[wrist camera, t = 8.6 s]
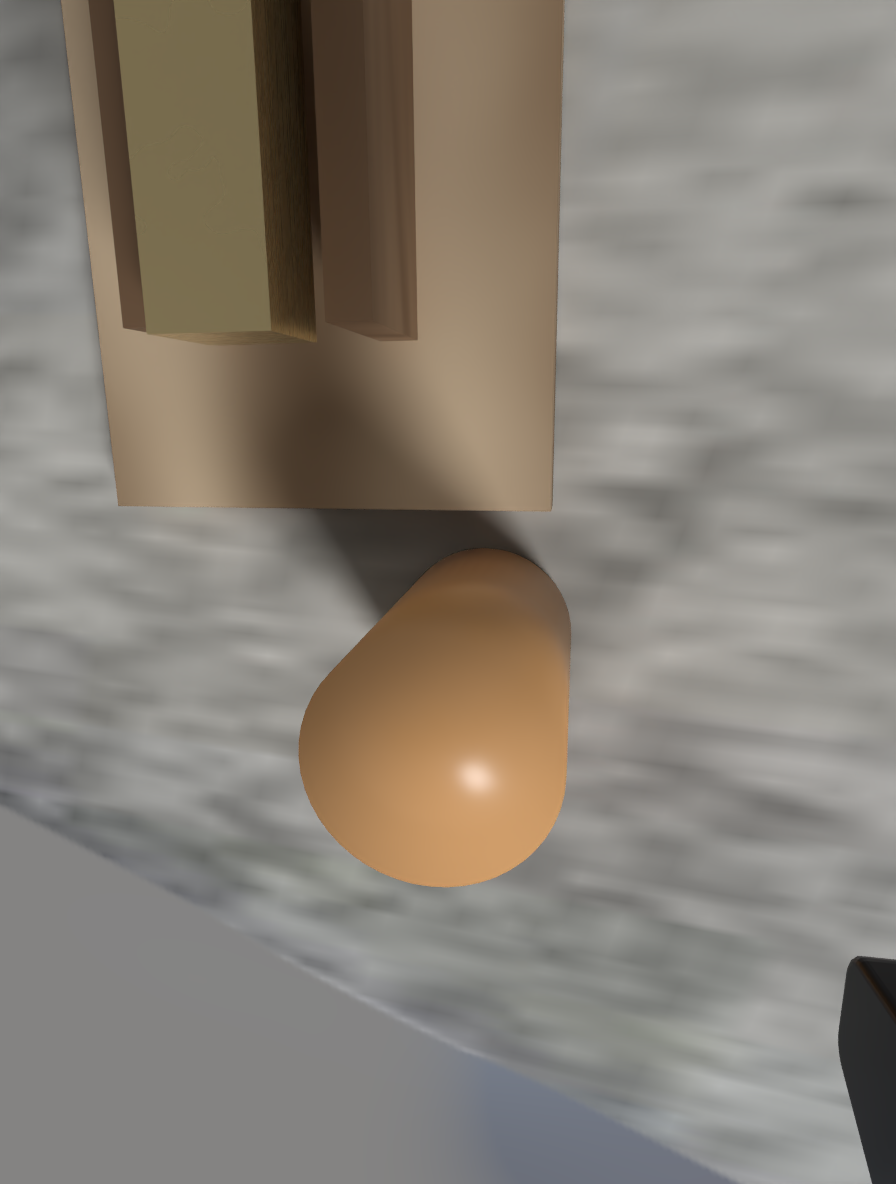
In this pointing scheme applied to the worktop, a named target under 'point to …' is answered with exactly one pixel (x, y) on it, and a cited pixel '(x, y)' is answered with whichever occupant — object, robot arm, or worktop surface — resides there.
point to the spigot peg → (447, 725)
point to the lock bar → (219, 168)
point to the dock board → (360, 275)
